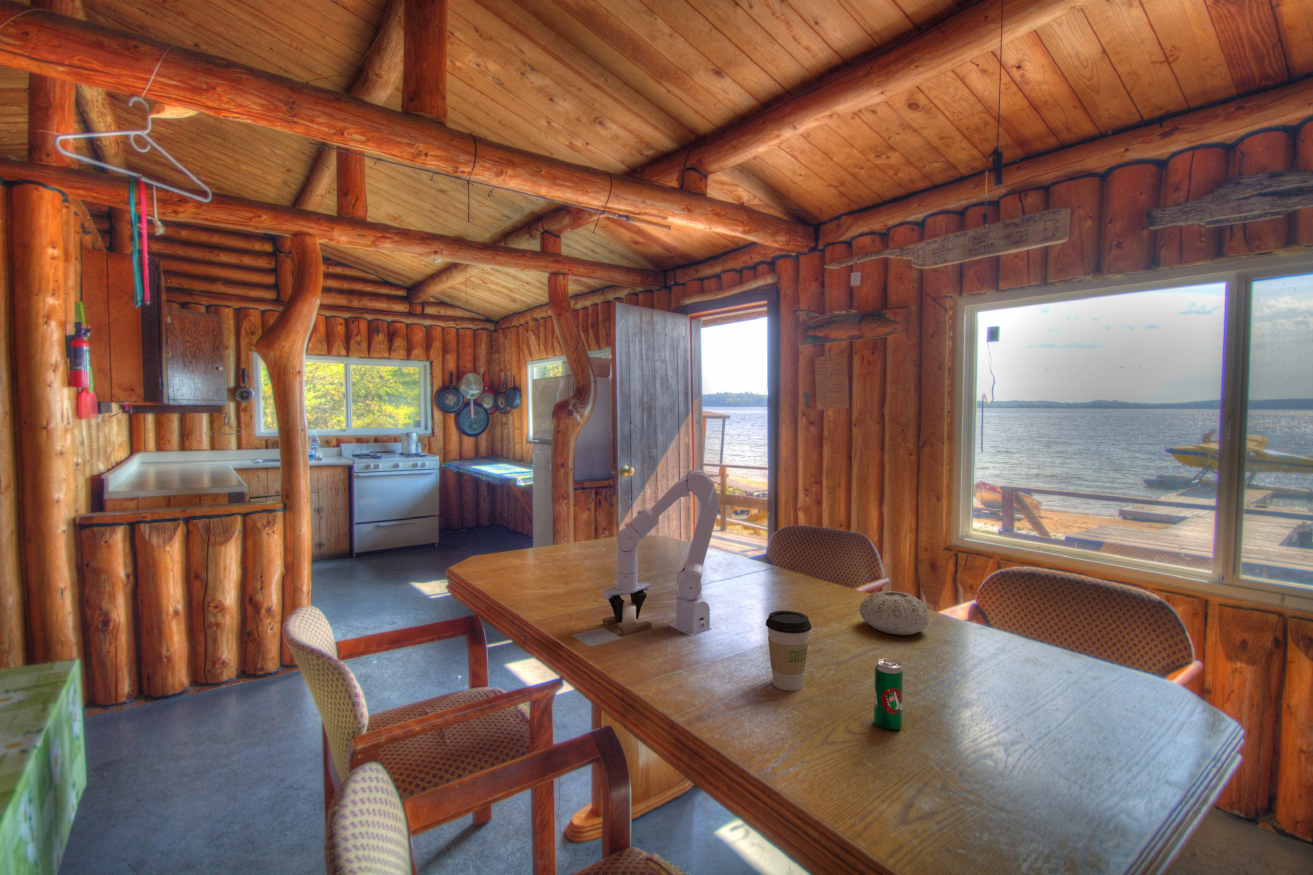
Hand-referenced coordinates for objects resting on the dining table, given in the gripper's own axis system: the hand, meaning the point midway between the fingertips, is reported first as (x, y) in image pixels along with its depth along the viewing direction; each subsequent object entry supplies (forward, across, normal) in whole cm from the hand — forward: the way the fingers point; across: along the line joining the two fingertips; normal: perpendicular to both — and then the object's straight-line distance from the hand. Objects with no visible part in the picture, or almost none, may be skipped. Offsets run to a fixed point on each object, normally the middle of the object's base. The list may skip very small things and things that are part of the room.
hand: (627, 619), depth 165 cm
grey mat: (+2, +11, +2) cm, 11 cm away
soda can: (+2, -11, +73) cm, 74 cm away
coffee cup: (+2, -9, +50) cm, 51 cm away
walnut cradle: (+2, 0, 0) cm, 2 cm away
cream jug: (+2, 0, -1) cm, 2 cm away
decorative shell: (+2, -60, +44) cm, 74 cm away
